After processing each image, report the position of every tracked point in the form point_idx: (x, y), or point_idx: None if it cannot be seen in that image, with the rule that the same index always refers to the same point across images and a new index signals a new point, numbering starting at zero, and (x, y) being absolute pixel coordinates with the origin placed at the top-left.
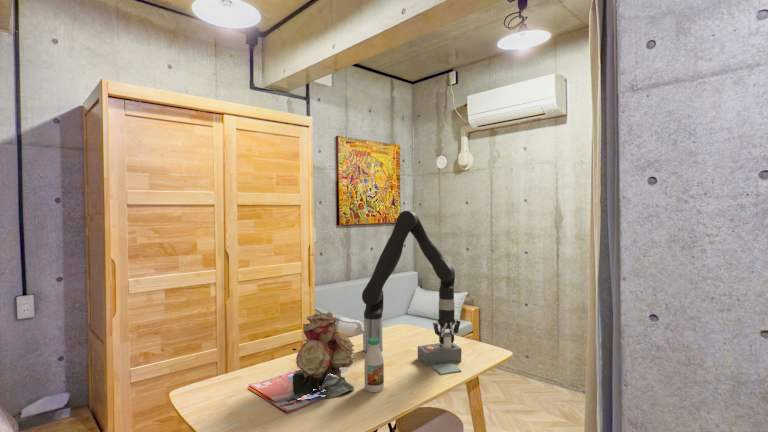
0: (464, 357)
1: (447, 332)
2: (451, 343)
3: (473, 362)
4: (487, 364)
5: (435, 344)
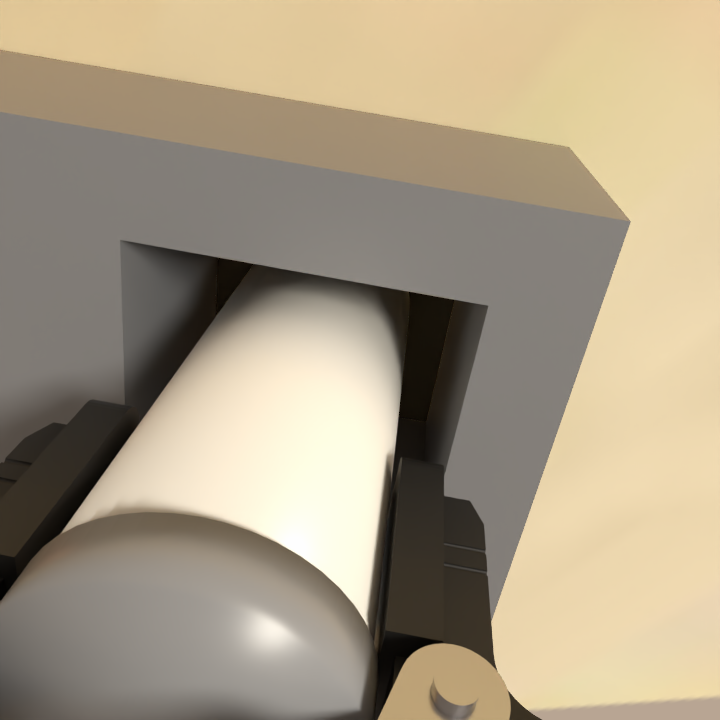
0: (630, 407)
1: (252, 698)
2: (520, 344)
3: (584, 585)
4: (681, 695)
5: (70, 184)
